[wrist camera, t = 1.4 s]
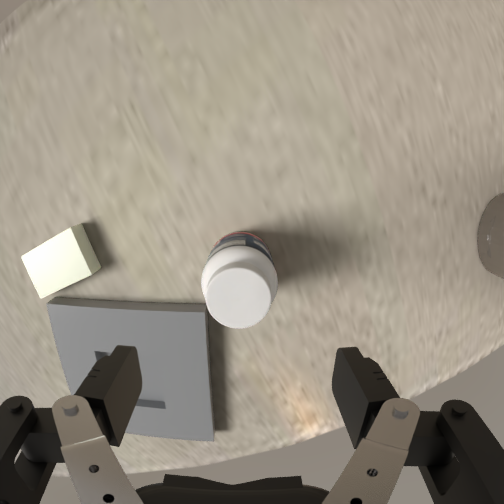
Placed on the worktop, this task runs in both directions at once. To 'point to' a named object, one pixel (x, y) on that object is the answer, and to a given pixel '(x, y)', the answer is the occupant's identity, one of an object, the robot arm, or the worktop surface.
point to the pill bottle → (239, 280)
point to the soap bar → (61, 261)
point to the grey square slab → (144, 359)
